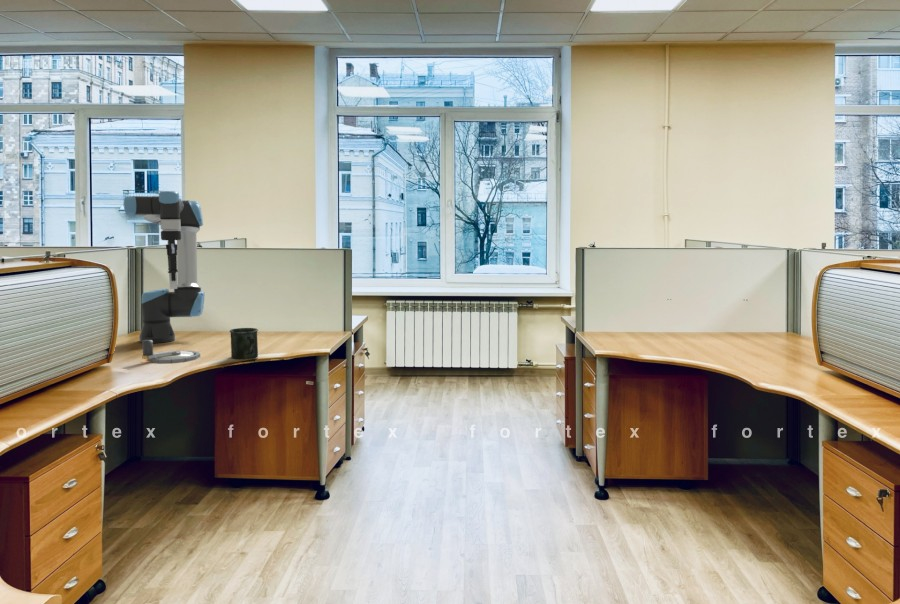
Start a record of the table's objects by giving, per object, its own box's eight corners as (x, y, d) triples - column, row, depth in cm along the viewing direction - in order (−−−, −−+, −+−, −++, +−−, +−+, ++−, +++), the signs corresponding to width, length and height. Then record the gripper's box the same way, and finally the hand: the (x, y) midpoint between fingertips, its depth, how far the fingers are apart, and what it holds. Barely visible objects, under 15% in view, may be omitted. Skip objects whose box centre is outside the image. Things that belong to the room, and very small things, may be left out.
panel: (126, 367, 265) (126, 361, 265) (155, 354, 291) (155, 348, 291) (196, 367, 265) (195, 361, 265) (218, 354, 291) (218, 349, 291)
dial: (181, 353, 288) (180, 332, 287) (200, 357, 279) (200, 336, 278) (134, 360, 272) (133, 339, 271) (153, 365, 264) (152, 343, 263)
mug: (252, 356, 288) (251, 326, 287) (267, 361, 277) (266, 331, 275) (226, 359, 281) (225, 329, 280) (240, 365, 270) (238, 334, 269)
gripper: (159, 229, 288) (162, 287, 291) (162, 230, 276) (165, 291, 279) (178, 229, 291) (181, 286, 294) (182, 230, 280) (185, 290, 283)
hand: (173, 288), depth 287 cm, fingers closed
